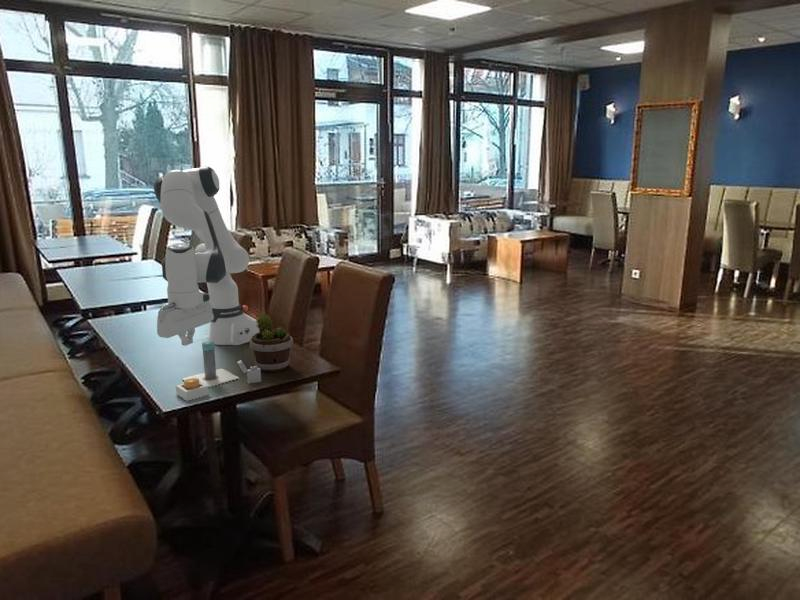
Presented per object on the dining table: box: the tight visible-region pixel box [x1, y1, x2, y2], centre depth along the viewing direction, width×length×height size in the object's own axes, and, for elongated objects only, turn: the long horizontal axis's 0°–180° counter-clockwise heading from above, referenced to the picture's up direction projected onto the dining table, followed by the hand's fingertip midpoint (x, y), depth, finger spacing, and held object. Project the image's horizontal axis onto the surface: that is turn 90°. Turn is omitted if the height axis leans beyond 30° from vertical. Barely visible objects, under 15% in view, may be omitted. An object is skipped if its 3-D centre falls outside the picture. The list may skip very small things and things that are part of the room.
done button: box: [183, 378, 200, 390], centre depth 178 cm, size 4×4×2 cm
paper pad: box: [181, 367, 240, 388], centre depth 191 cm, size 14×12×1 cm
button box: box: [175, 381, 209, 402], centre depth 179 cm, size 7×7×3 cm
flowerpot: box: [249, 311, 294, 373], centre depth 201 cm, size 14×15×20 cm
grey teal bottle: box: [201, 340, 217, 380], centre depth 190 cm, size 4×4×12 cm
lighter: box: [236, 359, 262, 384], centre depth 188 cm, size 7×2×8 cm, turn 120°
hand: (187, 344), depth 175 cm, fingers closed
